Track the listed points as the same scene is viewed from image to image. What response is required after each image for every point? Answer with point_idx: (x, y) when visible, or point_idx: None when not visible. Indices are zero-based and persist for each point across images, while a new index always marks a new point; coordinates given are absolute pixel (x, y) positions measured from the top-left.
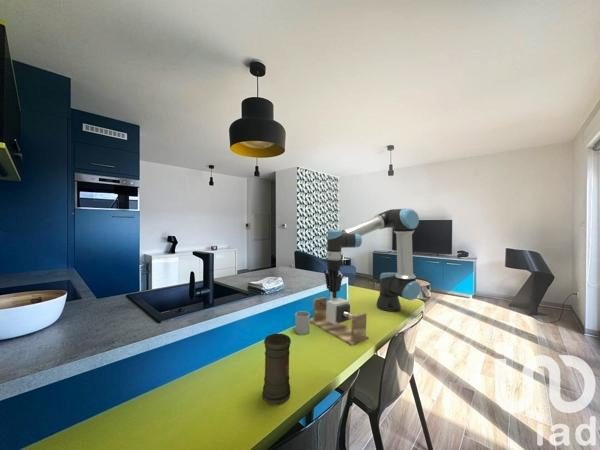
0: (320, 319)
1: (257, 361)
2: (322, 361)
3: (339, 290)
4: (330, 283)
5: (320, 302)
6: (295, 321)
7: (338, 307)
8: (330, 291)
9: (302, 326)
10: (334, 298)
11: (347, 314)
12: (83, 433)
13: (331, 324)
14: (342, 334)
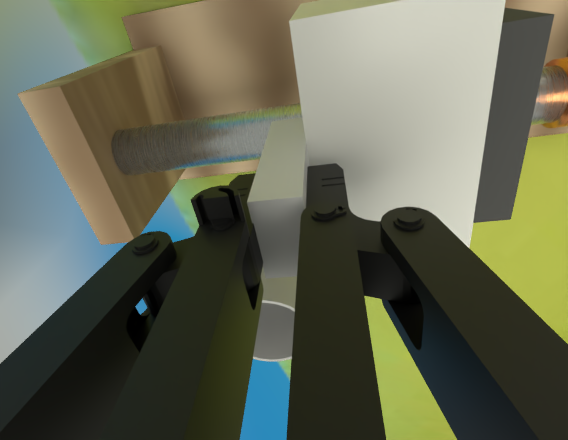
0: (181, 108)
1: (393, 419)
2: (540, 305)
3: (436, 223)
4: (237, 414)
5: (132, 174)
6: (262, 324)
7: (491, 218)
8: (271, 277)
9: None
10: (307, 165)
11: (563, 126)
12: None
13: (288, 81)
14: None
